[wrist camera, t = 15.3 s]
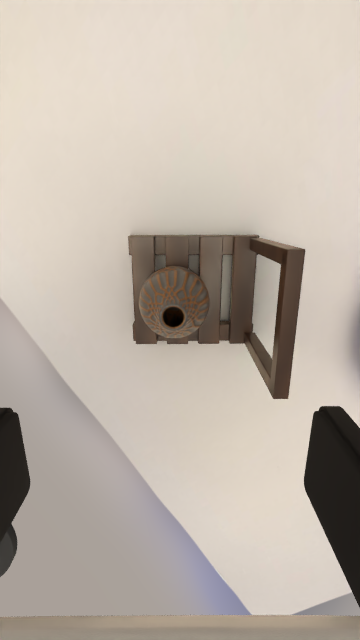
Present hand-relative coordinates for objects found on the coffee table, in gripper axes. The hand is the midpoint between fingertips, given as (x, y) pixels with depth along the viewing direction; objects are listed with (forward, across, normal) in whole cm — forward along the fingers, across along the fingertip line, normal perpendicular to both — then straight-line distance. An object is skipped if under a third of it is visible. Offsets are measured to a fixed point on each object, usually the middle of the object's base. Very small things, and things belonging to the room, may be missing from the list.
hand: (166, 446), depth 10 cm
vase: (+26, 0, +1) cm, 26 cm away
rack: (+28, -2, +1) cm, 28 cm away
